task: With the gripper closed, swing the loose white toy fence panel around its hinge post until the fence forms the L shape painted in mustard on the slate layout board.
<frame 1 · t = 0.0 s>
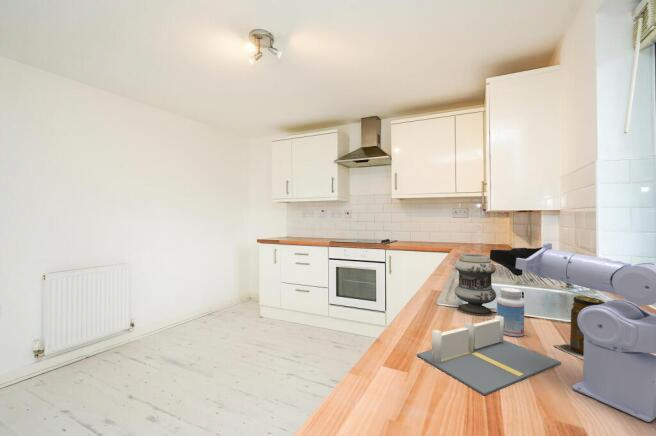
hand: (501, 253, 66), 22 cm above the table, tool horizontal, fingers open, 7 cm apart
pill bottle: (509, 333, 76), on the table
condiment: (583, 353, 65), on the table
apothecary jar: (474, 311, 94), on the table
fixed fence section: (469, 352, 64), resting on layout board
fence panel: (487, 331, 67), point 4 cm above the table, hinge at 0.0°
layout board: (487, 359, 61), on the table
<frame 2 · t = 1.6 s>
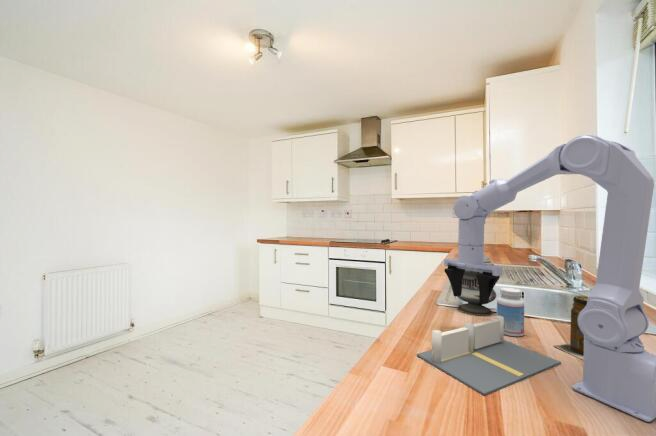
hand: (470, 299, 72), 9 cm above the table, tool pointing down, fingers open, 7 cm apart
nothing on the table moved.
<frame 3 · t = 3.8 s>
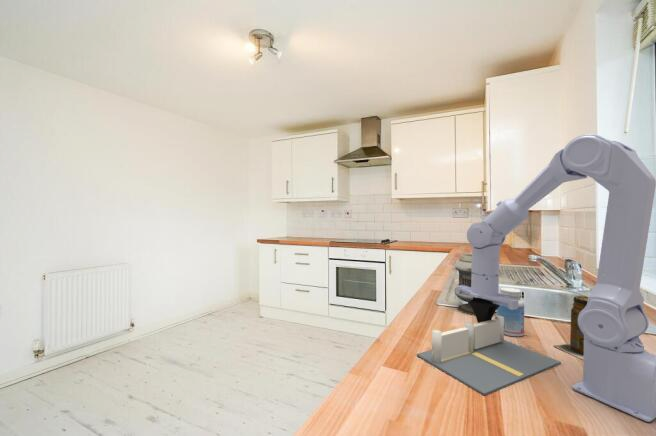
hand: (483, 331, 69), 3 cm above the table, tool pointing down, fingers closed
fence panel: (487, 331, 67), point 4 cm above the table, hinge at -0.2°, touching gripper
everything else where it was.
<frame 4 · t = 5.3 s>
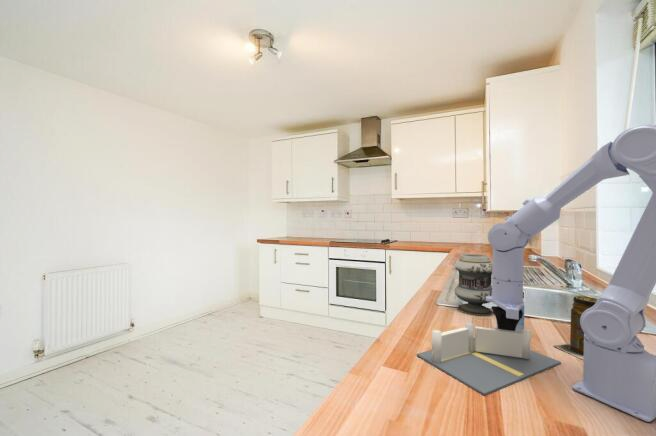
hand: (506, 341, 63), 3 cm above the table, tool pointing down, fingers closed, pressing on fence panel
fence panel: (501, 340, 62), point 4 cm above the table, hinge at -45.0°, touching gripper
everything else where it was.
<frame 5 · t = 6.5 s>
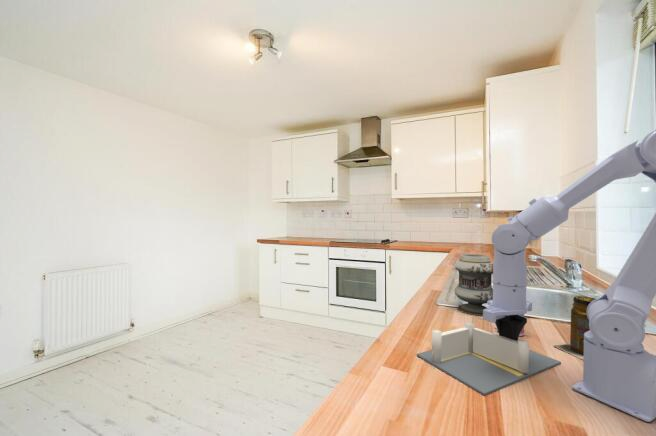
hand: (507, 351, 59), 3 cm above the table, tool pointing down, fingers closed, pressing on fence panel
fence panel: (499, 347, 59), point 4 cm above the table, hinge at -83.1°, touching gripper
everything else where it was.
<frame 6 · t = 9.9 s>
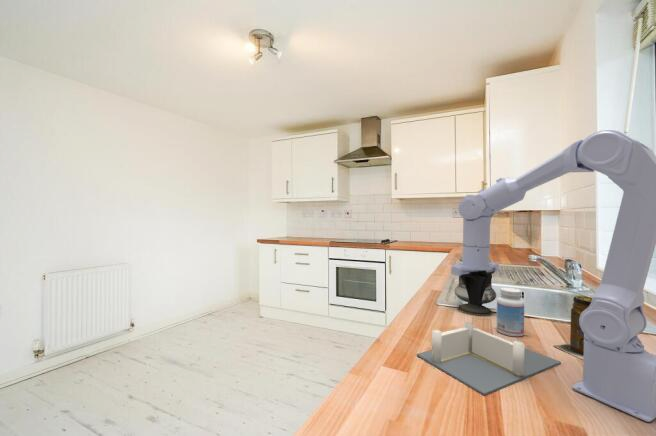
hand: (475, 303, 69), 9 cm above the table, tool pointing down, fingers closed
fence panel: (496, 348, 58), point 4 cm above the table, hinge at -91.7°
everything else where it was.
at the end: fence panel at -92° (first picture: +0°); pill bottle moved 0.2 cm from its start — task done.
